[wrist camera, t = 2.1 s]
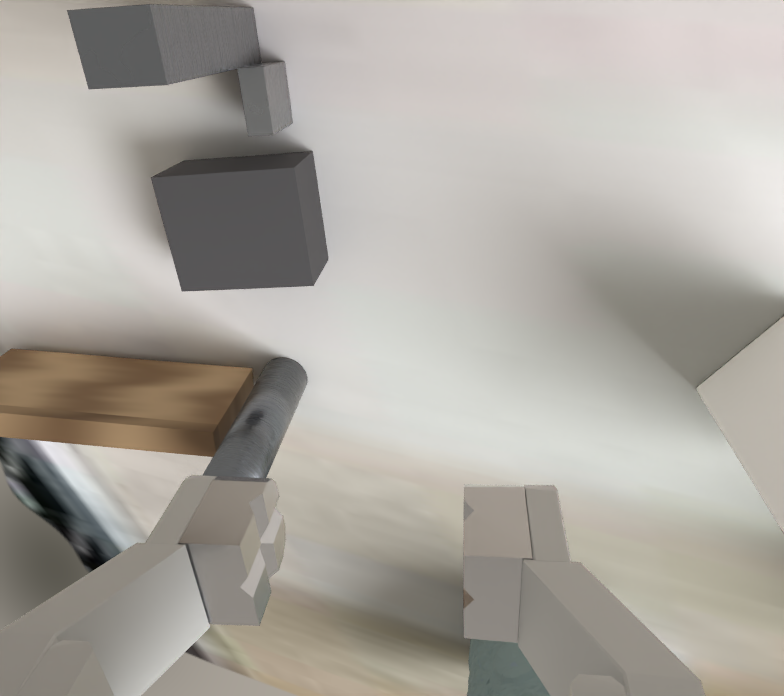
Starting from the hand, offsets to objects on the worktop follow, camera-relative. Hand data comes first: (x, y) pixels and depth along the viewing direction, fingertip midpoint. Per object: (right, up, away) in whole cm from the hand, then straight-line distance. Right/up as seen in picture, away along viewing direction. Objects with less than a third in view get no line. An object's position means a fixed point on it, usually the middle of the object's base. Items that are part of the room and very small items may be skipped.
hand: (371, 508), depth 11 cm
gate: (-14, +2, +22) cm, 26 cm away
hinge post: (-5, +1, +22) cm, 23 cm away
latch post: (-6, +14, +15) cm, 21 cm away
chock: (-6, +9, +18) cm, 21 cm away
